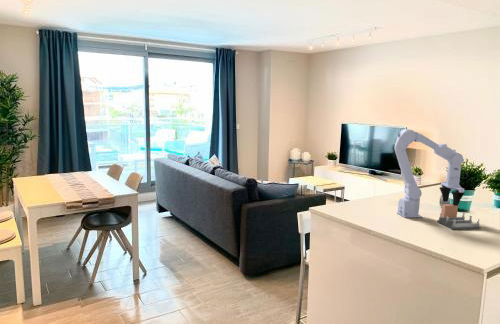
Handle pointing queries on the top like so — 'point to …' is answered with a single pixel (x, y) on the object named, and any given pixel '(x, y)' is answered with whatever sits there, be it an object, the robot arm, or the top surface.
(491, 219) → the top surface
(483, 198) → the top surface
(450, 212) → the peach brick
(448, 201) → the ceramic mug
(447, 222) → the pegged metal rack
